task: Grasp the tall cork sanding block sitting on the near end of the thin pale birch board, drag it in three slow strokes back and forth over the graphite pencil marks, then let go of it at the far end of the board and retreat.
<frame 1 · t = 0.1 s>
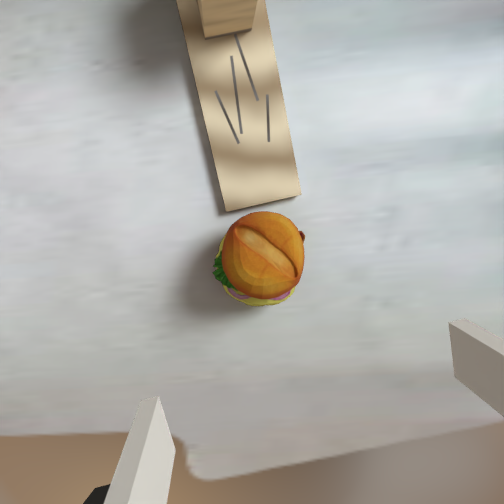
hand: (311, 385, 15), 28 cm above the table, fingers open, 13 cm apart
board: (238, 87, 39), on the table
cheeseburger: (255, 255, 43), on the table
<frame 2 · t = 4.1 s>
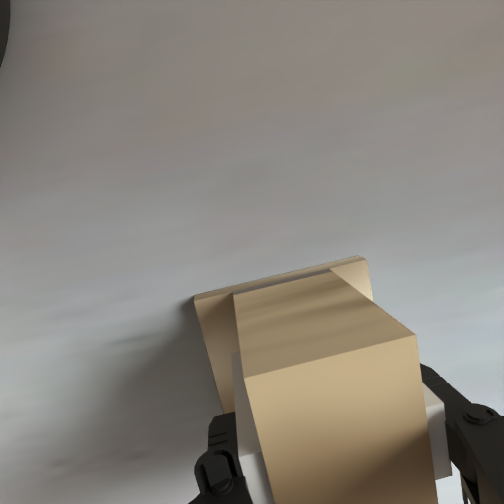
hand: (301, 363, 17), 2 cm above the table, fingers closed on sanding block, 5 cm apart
board: (320, 476, 21), on the table
sanding block: (296, 351, 18), point 1 cm above the table, touching board, gripper
when the fingers open (2 cm above the table, at t = 13.7 s): sanding block drops 1 cm, resting on board.
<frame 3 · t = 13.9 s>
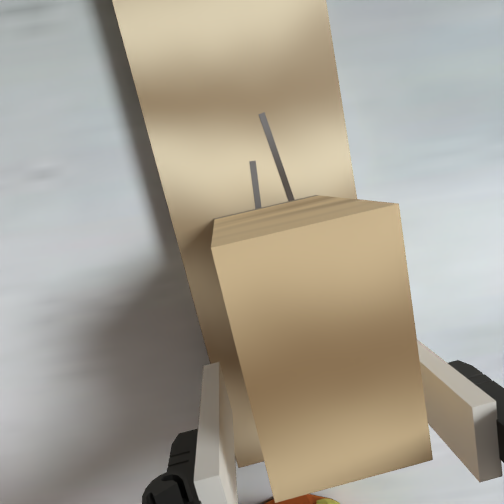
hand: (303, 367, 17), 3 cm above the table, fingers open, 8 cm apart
board: (266, 220, 18), on the table
sanding block: (282, 284, 18), point 1 cm above the table, touching board
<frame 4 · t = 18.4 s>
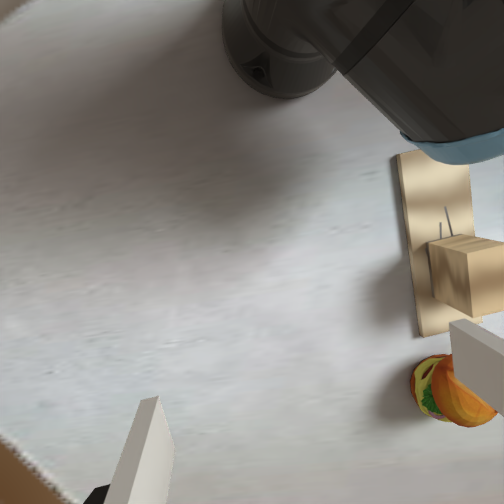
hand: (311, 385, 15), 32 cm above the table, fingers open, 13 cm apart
board: (439, 242, 49), on the table
sanding block: (446, 265, 48), point 1 cm above the table, touching board
cheeseburger: (435, 375, 53), on the table
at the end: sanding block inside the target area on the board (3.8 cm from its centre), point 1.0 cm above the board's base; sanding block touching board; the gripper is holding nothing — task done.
